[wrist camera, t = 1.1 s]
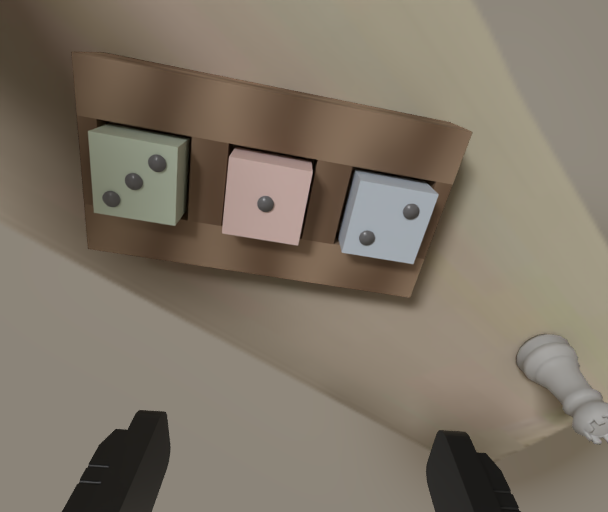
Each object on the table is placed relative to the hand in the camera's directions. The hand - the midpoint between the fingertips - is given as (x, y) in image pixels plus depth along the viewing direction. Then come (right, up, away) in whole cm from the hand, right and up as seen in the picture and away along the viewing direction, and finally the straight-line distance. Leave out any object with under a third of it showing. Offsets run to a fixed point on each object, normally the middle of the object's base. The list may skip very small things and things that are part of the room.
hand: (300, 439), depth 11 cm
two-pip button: (+5, +8, +12) cm, 16 cm away
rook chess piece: (+20, -3, +22) cm, 30 cm away
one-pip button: (-2, +9, +12) cm, 15 cm away
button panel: (-2, +11, +14) cm, 18 cm away
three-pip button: (-9, +11, +11) cm, 18 cm away
